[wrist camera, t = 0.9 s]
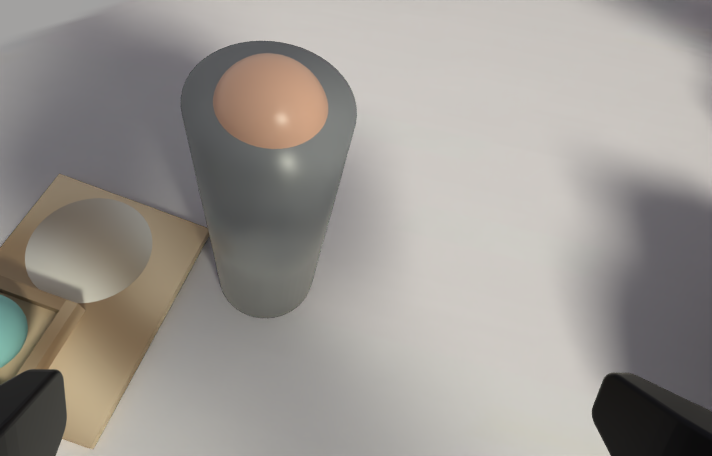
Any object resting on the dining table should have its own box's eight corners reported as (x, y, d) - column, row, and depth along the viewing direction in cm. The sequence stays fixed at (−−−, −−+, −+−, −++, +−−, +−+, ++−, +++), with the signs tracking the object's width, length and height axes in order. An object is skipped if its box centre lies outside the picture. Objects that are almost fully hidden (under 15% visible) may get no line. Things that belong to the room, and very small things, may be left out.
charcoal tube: (293, 331, 22) (330, 175, 10) (203, 298, 22) (134, 103, 10) (324, 250, 24) (385, 45, 12) (243, 220, 24) (225, -15, 12)
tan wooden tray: (93, 448, 18) (80, 447, 17) (-96, 381, 18) (-124, 374, 17) (210, 233, 24) (207, 219, 22) (63, 178, 23) (51, 161, 22)
